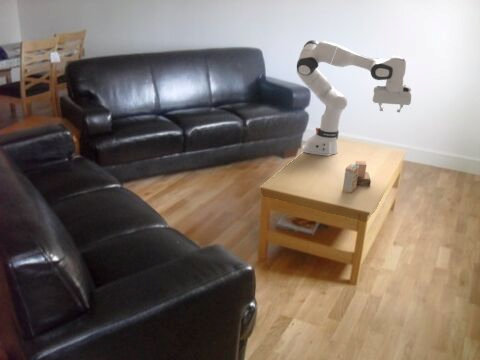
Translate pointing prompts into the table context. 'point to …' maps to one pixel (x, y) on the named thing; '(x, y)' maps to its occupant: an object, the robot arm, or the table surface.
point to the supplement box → (350, 178)
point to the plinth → (364, 180)
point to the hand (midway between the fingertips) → (389, 111)
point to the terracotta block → (361, 168)
